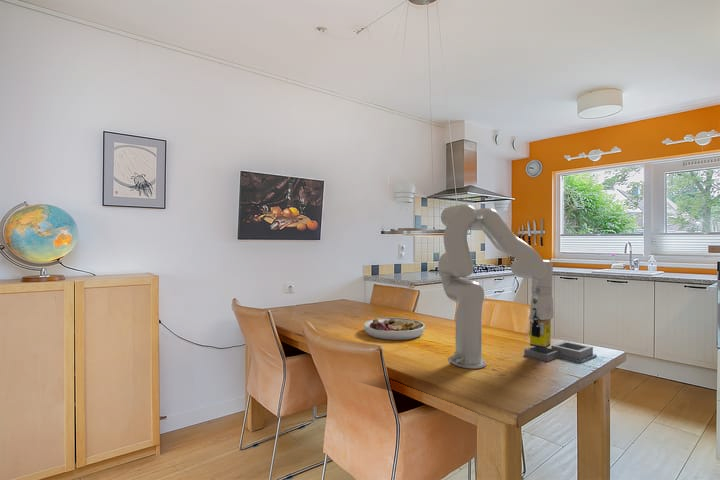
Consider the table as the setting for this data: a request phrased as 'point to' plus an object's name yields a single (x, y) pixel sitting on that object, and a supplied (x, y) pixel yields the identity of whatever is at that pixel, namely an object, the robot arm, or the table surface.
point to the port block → (574, 351)
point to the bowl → (394, 328)
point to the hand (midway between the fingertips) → (540, 334)
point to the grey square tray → (542, 353)
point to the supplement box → (542, 334)
